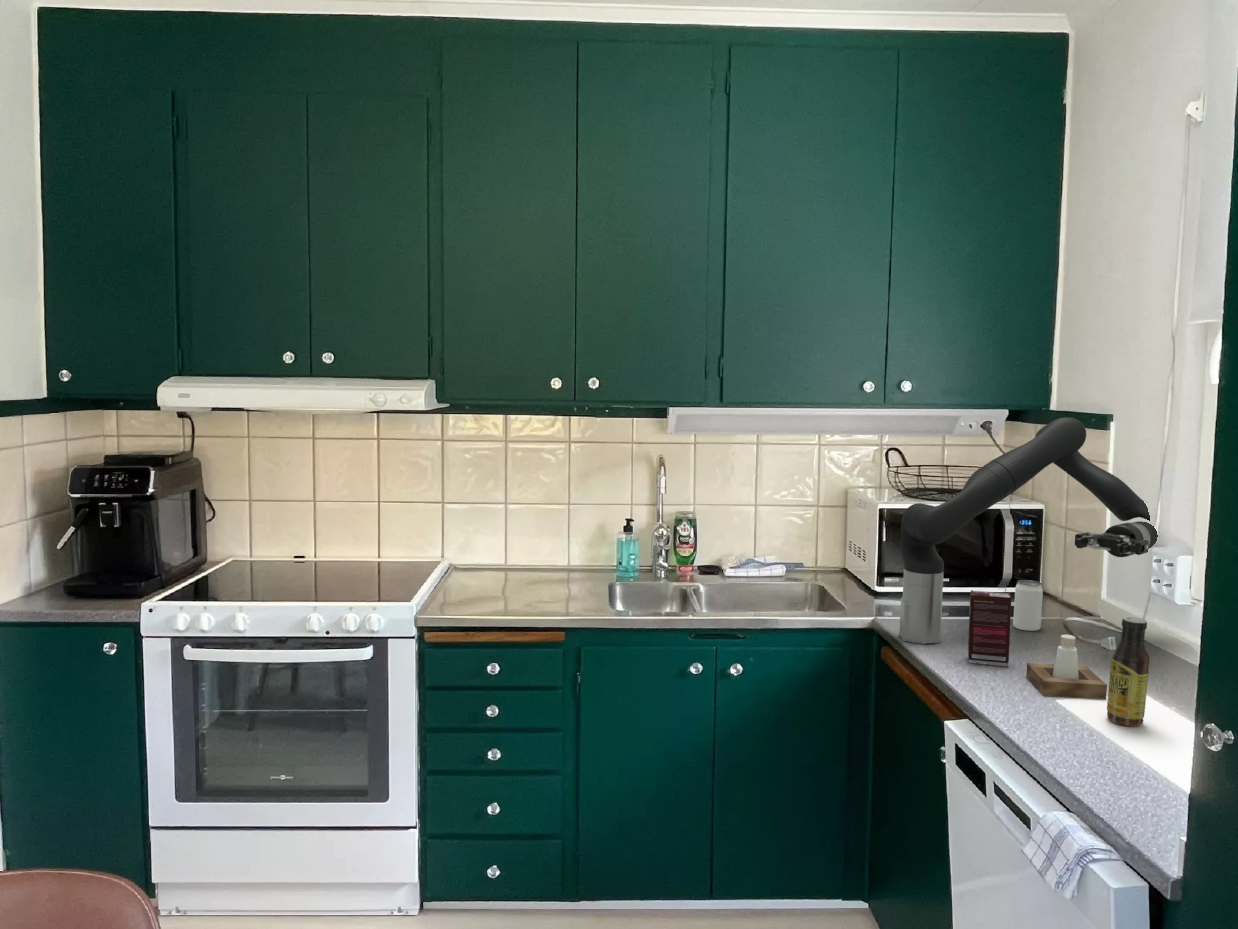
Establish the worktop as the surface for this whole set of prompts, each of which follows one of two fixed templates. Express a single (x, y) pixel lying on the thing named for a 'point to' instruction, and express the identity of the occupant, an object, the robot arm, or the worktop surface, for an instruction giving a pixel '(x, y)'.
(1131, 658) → the sauce bottle
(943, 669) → the worktop surface
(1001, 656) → the supplement box
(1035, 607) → the can
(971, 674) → the worktop surface
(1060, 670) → the pepper shaker
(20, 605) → the worktop surface
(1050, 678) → the socket block
